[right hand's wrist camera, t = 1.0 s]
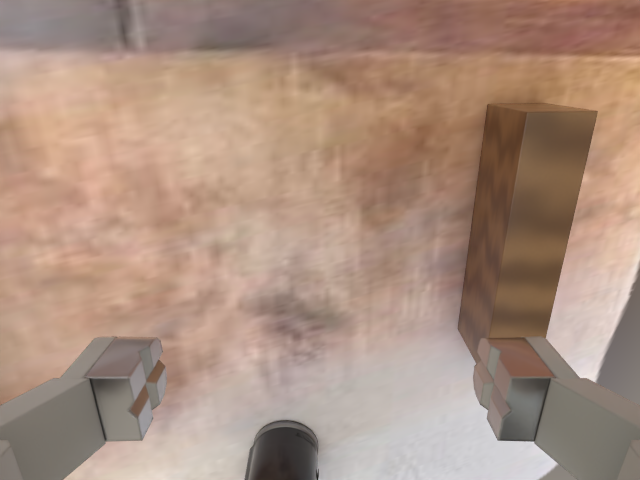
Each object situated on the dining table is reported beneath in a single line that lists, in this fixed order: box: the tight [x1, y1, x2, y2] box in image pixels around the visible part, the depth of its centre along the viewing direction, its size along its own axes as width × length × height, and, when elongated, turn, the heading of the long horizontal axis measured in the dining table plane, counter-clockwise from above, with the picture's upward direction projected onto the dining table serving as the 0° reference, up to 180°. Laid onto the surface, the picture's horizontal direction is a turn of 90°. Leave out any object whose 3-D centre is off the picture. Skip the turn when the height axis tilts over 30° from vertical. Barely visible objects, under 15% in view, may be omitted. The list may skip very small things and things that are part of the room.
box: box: [458, 103, 598, 364], centre depth 44 cm, size 28×6×9 cm, turn 1°
